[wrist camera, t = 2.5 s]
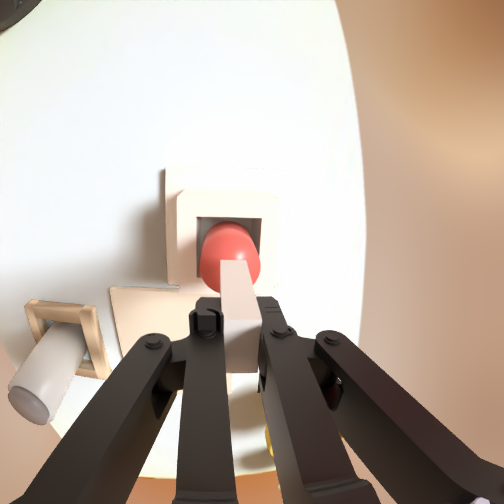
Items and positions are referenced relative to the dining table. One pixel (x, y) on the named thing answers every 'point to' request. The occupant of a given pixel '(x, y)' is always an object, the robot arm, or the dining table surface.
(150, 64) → the dining table surface
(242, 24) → the dining table surface
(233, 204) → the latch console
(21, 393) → the filter cartridge
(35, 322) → the socket
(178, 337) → the sand mat
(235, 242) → the latch button
